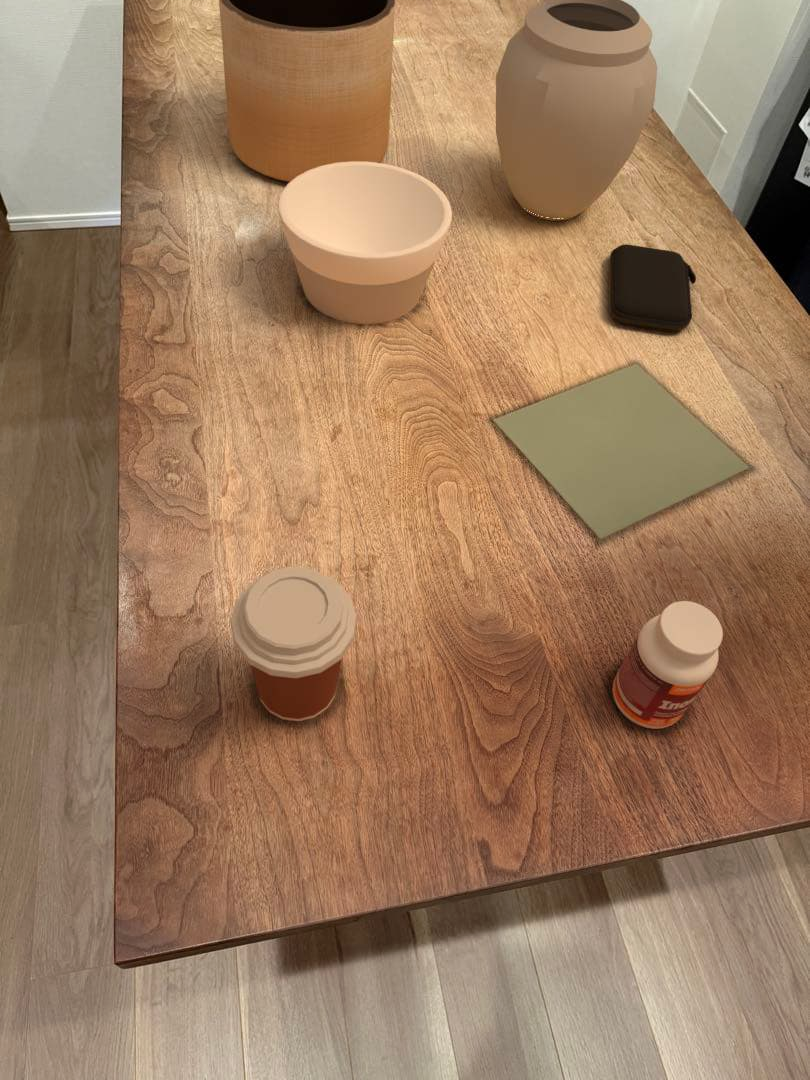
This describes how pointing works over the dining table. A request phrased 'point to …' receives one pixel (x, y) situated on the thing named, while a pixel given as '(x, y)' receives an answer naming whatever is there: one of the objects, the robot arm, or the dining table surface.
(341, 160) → the planter
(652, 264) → the carrying case
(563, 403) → the mat
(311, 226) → the bowl
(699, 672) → the pill bottle
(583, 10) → the vase
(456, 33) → the dining table surface
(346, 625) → the coffee cup
